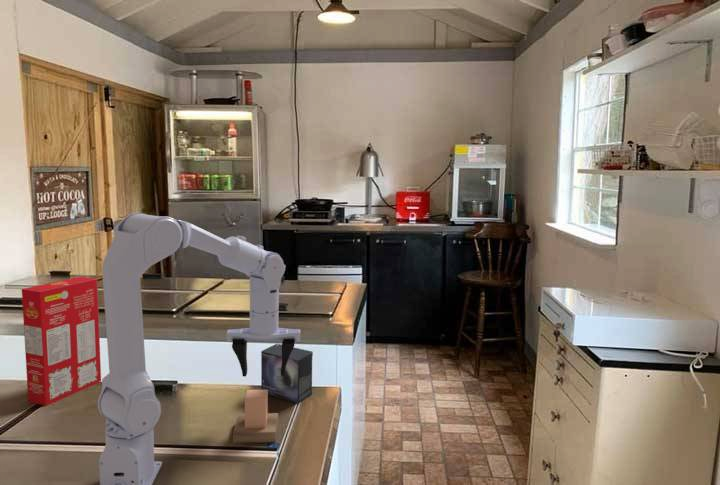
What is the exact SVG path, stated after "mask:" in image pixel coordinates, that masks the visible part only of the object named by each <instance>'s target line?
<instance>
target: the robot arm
mask: <svg viewBox="0 0 720 485" xmlns="http://www.w3.org/2000/svg"><path fill="white" fill-rule="evenodd" d="M113 235H114V236H113V238H112V241H111V243H110V245H109V248H108V250H107V252H106V254H105V256H104V259H103V260H102V261H103V262H102V266H101V267H102V268H101V274H102V287H103V304H104V315H105V329H106V343H107V356H108V357H107V358H108V370H109V372H108V373H107V375H105V376H104V377H103V378H101V385H102V386H101V387H102V388H101V392H100V393H99V396H98V401H97V409H98V411H99V413H100V414H101V415H102V416H103V417H104V418H105V429H104V430H105V445H104V448H103V451H102V453H101V454H100V457H99V460H98V470H99V472H98V473H99V485H153V483H154V481H155V479H156V477H157V475H158V473H159V471H160V469H161V467H162V465H163V461H155V435H154V430H155V428H154V427H155V426H156V425H157V423H158V421H159V419H160V417H161V414H162V406H161V402H160V400H159V399H158V398H157V396H156V393H155V385H154V383H153V381H152V380H151V377H150V375H149V374H148V372H147V370H146V354H145V353H146V352H145V350H146V349H145V338H144V337H145V333H144V320H143V319H144V318H143V317H144V316H143V304H142V303H143V302H142V300H143V299H142V287H141V285H142V284H141V283H142V282H141V276H142V275H143V274H145V273H146V271H148V270H149V269H150V268H151V267H152V266H153V265H155V264H157V263H158V262H160V261H163V260H164V259H166V258H168V257H170V256H171V255H173V254H174V253H175V252H177V250H179V249H186V248H187V247H188V246H189V247H192V248H194V249H198V250H201V251H203V252H207V253H209V254H212V255H215V256H217V259H218V262H219V264H220V265H222V266H224V267H227V268H229V269H233V270H235V271H238V272H240V273H242V274H245V275H246V276H247V277H249V327H245V328H237V329H234V328H233V329H228V330H227V332H226V342H228V343H229V342H232V344H231V347H232V351H233V353H234V354H235V355H236V358H237V360H238V362H239V366H240V368H241V373H242V374H241V375H242V377H247V374H248V359H247V358H248V356H247V353H248V352H247V351H248V341H282V342H281V345H282V366H281V376H285V368H286V365H287V361H288V359H289V356H290V354H291V352H292V350H293V348H295V342H301V329H297V328H296V329H293V328H286V327H285V328H283V327H279V309H280V308H279V307H280V305H279V303H280V301H279V300H280V292H279V291H280V290H279V289H280V287H281V285H282V282H281V281H282V278H283V276H284V274H285V272H286V268H287V267H286V266H287V265H286V264H284V259H283V258H282V257H281V255H280V254H279V253H277V252H273V251H269V250H268V251H267V250H265V249H264V245H263V246H262V245H261V244H253V243H250V242H249V241H247V237H245V236H243V235H236V236H229V237H227V238H225V239H224V238H222V237H220V236H218V235H215V234H213V233H212V232H210V231H207V230H205V229H203V228H201V227H198V226H197V225H195V224H192V223H191V222H188V221H185V220H184V221H183V220H180V219H175V218H173V217H170V216H164V215H163V216H160V215H152V214H146V213H144V212H132V213H130V214H128V215H126V216H125V217H124V218H123V219H121V220H120V221H119V222H118V223H117V224H116V225H115V226H114V227H113Z"/></svg>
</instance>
